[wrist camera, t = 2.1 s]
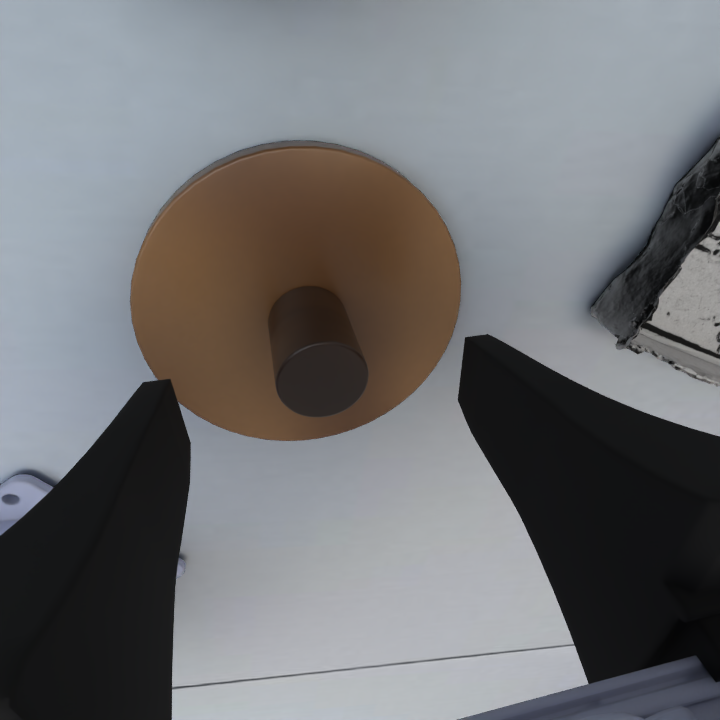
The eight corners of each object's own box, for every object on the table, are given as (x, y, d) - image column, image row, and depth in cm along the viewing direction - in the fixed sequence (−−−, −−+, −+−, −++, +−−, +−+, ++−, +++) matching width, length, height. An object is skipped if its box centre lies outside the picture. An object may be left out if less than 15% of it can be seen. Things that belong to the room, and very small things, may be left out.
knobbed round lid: (274, 466, 19) (282, 556, 16) (52, 281, 13) (-4, 361, 10) (495, 329, 18) (554, 397, 14) (353, 55, 12) (397, 65, 9)
